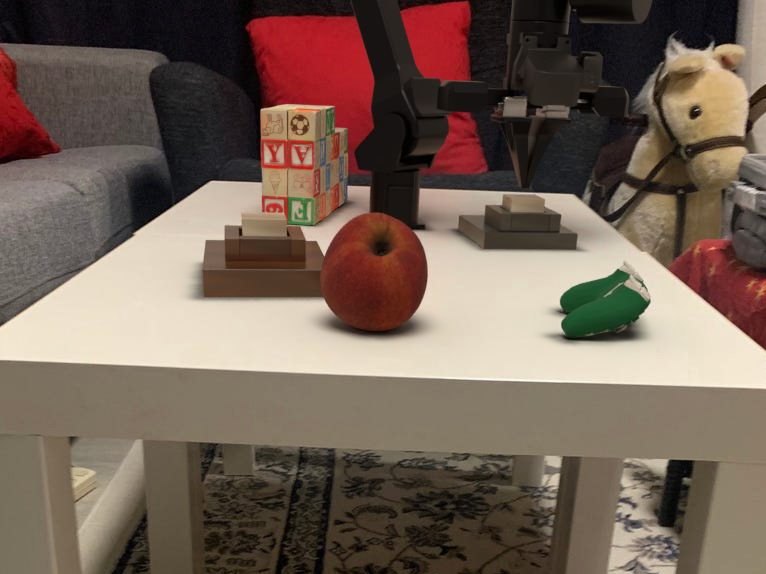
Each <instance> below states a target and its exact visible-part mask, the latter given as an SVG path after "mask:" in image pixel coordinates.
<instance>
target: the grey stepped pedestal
mask: <svg viewBox="0 0 766 574" xmlns="http://www.w3.org/2000/svg"><path fill="white" fill-rule="evenodd" d="M561 223H562V214H561V213H559V212H557V211H555V210H553V209H550V208H548V207H547V206H544V213H537V212H508V211H506V210H504V209H502V204H485V206H484V214H459V215H458V224H457V231H458V232H460V233H461V234H463V235H464V236H465V237H467V238H468V239H469V240H470V241H472V242H473V243H475V244H476V245H477V246H478V247H480V248H482V250H528V251H529V250H531V251H532V250H538V251H540V250H543V251H544V250H548V251H549V250H551V251H552V250H553V251H554V250H556V251H576V250H577V244H578V236H579V234H578V232H575V231H573V230H571V229H570V228H568V227H565V226H564V225H562V224H561Z"/></svg>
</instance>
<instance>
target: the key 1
mask: <svg viewBox="0 0 766 574" xmlns="http://www.w3.org/2000/svg"><path fill="white" fill-rule="evenodd" d="M240 214H241V226H242V236H287V226H288V224H287V219H286V217H285V214H284V213H264V212H262V211H260V212H257V211H256V212H255V211H253V212H252V211H251V212H249V211H248V212H247V211H243V212H241V213H240Z"/></svg>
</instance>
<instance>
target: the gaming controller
mask: <svg viewBox="0 0 766 574" xmlns="http://www.w3.org/2000/svg"><path fill="white" fill-rule="evenodd" d="M651 302H652V300H651V294H650V292H649V290H648V288H647V286H646V284H645V282H644V279H643V277H642V276H641V275H640V273H639V272H638V271H636V268H635V267H634V266H632V265H631V264H630V263H629V262H627V260H626V259H625V260H623V264H622V265H621V266H620V267H619V268H616V270H615V271H614V272H613V273H611V274H609V275H607V276H605V277H601V278H598V279H594V280H593V279H592V280H589V281H585V282H581V283H578V284H575V285H573V286H571V287H570V288H568V289H567V290H566V291H564V292H563V293H562V295H561V296H560V298H559V305H560V308H561V309H562V310H563V311H564V312H566V313H567V314H566V316H565V317H563V319H562V320H561V322H560V327H561V330H562V331H563V333H564V334H565V337H567V338H568V339H572V338H573V339H574V338H581V337H582V338H583V337H590V336H596V335H599V334H603V333H607V332H614V333H616V334H620V333H622V332H623V331H624V330H625V329H627V327H628V326H629V325H630V324H631V323H636V322H637V321H638V320H640V316H641V315H642V314H644V313H645V312H646V310H647V309H648V307H649V306H650V304H651Z"/></svg>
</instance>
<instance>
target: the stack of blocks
mask: <svg viewBox="0 0 766 574" xmlns="http://www.w3.org/2000/svg"><path fill="white" fill-rule="evenodd" d="M259 113H260V162H261V163H260V166H261V212H264V213H284V214H285V217H286V219H287V225H297V226H300V225H301V226H315V225H317V224H318V223H319V222H321V221H322V220H324V219H325V218H326V217H328V216H329V215H330V214H331V213H332V212H334V211H335V210H337V208H338V207H340V206H342V205H343V204H344V203H346V202H347V201H348V190H349V189H348V184H349V183H348V181H349V177H348V176H349V153H348V139H349V137H348V136H349V135H348V132H349V131H348V128H347V127H336V106H335V105H313V104H295V103H294V104H293V103H292V104H291V103H285V104H279V105H276V106H271V107H264V108H261V109H260V112H259Z"/></svg>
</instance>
